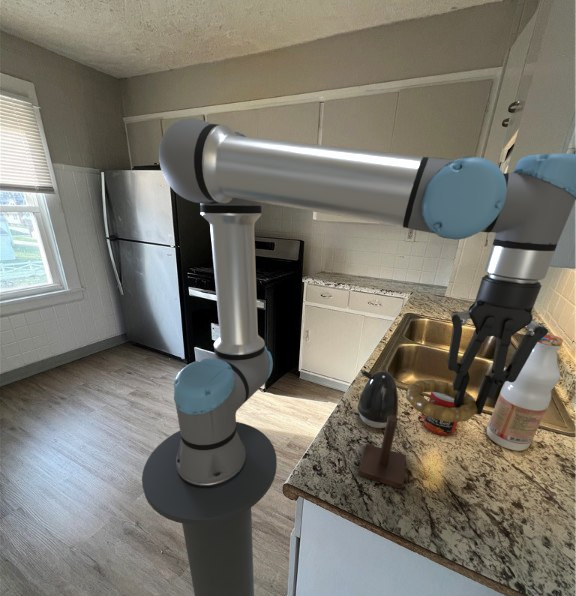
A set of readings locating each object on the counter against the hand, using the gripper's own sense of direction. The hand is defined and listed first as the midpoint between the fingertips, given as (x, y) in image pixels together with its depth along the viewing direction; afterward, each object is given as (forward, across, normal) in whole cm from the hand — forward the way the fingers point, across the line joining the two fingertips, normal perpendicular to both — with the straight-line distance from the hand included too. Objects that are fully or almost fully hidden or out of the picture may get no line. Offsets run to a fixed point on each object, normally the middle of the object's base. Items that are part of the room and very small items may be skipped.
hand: (466, 407), depth 57 cm
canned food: (+20, 0, -22) cm, 30 cm away
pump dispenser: (+20, +16, -16) cm, 31 cm away
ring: (0, +4, 0) cm, 5 cm away
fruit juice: (+20, -16, -24) cm, 35 cm away
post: (+20, +12, 0) cm, 23 cm away
